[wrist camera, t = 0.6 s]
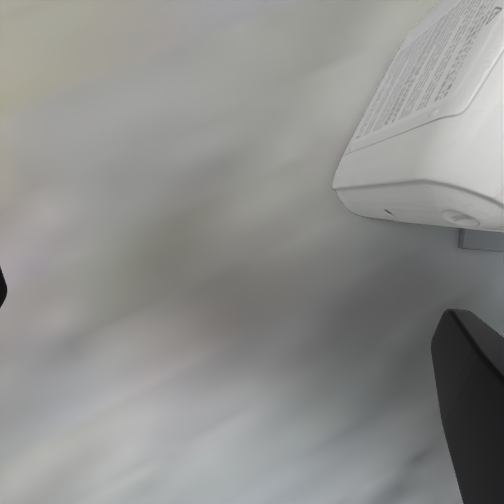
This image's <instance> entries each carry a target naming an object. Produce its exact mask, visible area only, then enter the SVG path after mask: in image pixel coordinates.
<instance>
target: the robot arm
mask: <svg viewBox="0 0 504 504" xmlns="http://www.w3.org/2000/svg"><path fill="white" fill-rule="evenodd" d="M6 295H7V285H6V282H5V279H4V276H3V273H2V270H1V267H0V308H1V306H2V304H3V302H4V300H5V298H6ZM431 353H432V360H433V367H434V373H435V380H436V387H437V394H438V400H439V407H440V413H441V419H442V424H443V428H444V433H445V437H446V440H447V444H448V448H449V452H450V455H451V459H452V463H453V466H454V470H455V474H456V478H457V481H458V485H459V489H460V493H461V496H462V500H463V504H504V338H503V337H502V336H501V335H499V334H498V333H497V332H496V331H494V330H493V329H492V328H491V327H489V326H488V325H487V324H486V323H484V322H483V321H482V320H481V319H479V318H478V317H477V316H475V315H474V314H473V313H472V312H470V311H467V310H459V309H447V310H446V311H445V312H444V313H443V315H442V317H441V319H440V322H439V324H438V326H437V329H436V331H435V333H434V336H433V338H432V342H431Z"/></svg>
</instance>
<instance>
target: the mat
mask: <svg viewBox="0 0 504 504" xmlns="http://www.w3.org/2000/svg"><path fill="white" fill-rule="evenodd" d="M458 248H465V249H478V250H492V251H504V232H495V231H484V230H474V229H465V228H461V232H460V239H459V247H458Z"/></svg>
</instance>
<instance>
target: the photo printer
mask: <svg viewBox="0 0 504 504" xmlns="http://www.w3.org/2000/svg"><path fill="white" fill-rule="evenodd" d="M332 189H334V190H336V191H337V194H338V197H339V199H340V200H341V202H342V203H343V205H344V206H345V207H346V208H348V209H349V210H350V211H352V212H353V213H355V214H357V215H359V216H363V217H369V218H377V219H387V220H392V221H399V222H407V223H416V224H426V225H436V226H445V227H455V228H465V229H474V230H484V231H495V232H504V0H440V1H439V2H438V3H437V4H436V5H435V6H434V7H433V8H432V9H430V10H429V11H428V12H427V13H426V14H425V15H424V16H423V17H422V18H421V19H420V21H419V22H418V23H417V24H416V25H415V27H414V28H413V29H412V31H411V32H410V33H409V35H408V36H407V38H406V39H405V41H404V42H403V44H402V45H401V47H400V49H399V50H398V52H397V54H396V56H395V57H394V59H393V61H392V63H391V64H390V65H389V68H388V70H387V72H386V74H385V75H384V77H383V79H382V81H381V83H380V85H379V87H378V88H377V90H376V92H375V94H374V96H373V98H372V100H371V101H370V103H369V105H368V107H367V109H366V111H365V113H364V115H363V117H362V119H361V121H360V122H359V124H358V126H357V128H356V130H355V132H354V134H353V136H352V138H351V140H350V142H349V144H348V146H347V148H346V150H345V152H344V154H343V156H342V159H341V161H340V163H339V165H338V168H337V170H336V173H335V176H334V179H333V183H332Z"/></svg>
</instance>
